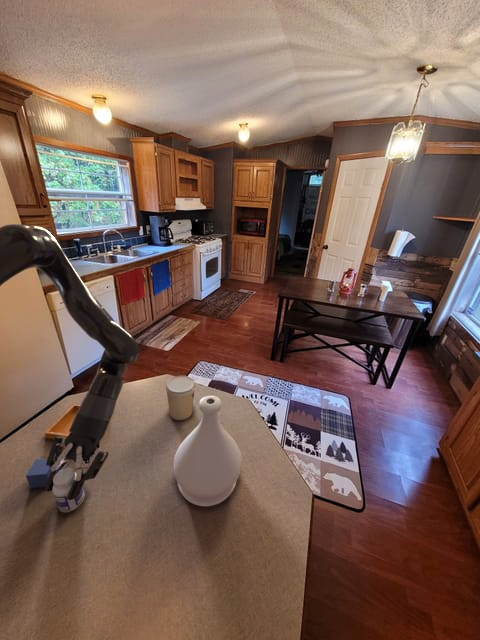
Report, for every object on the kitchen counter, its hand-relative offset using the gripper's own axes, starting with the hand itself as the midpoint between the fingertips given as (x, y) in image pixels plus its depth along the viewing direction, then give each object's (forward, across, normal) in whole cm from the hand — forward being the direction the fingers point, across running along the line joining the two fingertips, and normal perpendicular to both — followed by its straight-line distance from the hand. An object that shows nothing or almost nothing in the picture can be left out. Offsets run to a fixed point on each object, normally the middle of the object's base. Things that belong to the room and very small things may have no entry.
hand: (60, 494), depth 56 cm
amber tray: (-11, -16, +18) cm, 27 cm away
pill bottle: (+3, 0, +5) cm, 6 cm away
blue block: (+1, -11, +6) cm, 12 cm away
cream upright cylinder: (-22, +10, +29) cm, 38 cm away
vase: (-9, +28, +16) cm, 33 cm away
